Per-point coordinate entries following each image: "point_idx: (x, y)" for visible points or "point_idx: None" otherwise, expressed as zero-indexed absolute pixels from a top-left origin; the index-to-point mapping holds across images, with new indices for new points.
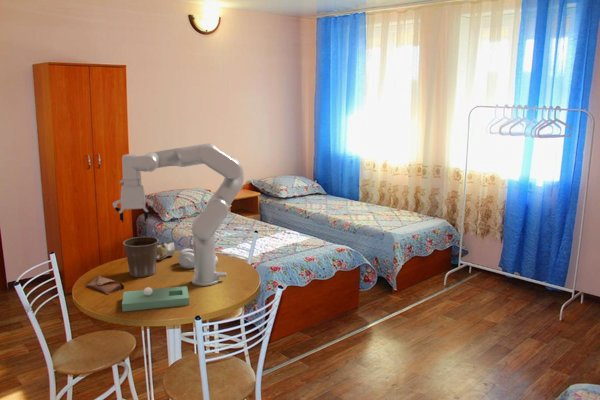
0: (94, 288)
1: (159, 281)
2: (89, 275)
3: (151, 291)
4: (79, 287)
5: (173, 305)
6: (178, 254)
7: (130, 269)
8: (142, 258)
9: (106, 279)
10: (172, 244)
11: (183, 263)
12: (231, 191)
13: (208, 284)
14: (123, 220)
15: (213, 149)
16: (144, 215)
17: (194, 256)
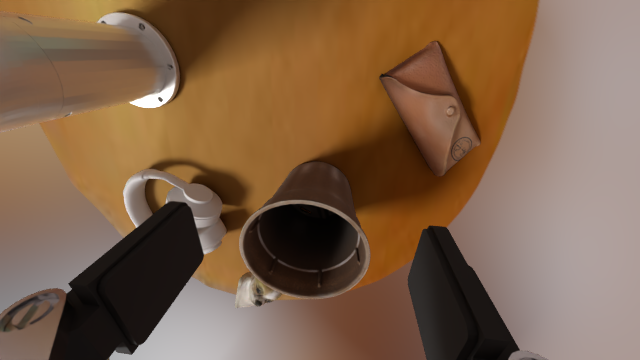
0: (463, 107)
1: (274, 112)
2: (447, 220)
3: None
4: (497, 139)
5: None
6: (219, 239)
7: (348, 187)
8: (308, 183)
9: (430, 121)
10: (238, 298)
11: (207, 192)
12: None
13: (116, 12)
14: (415, 265)
15: None
16: (139, 250)
17: (83, 59)
